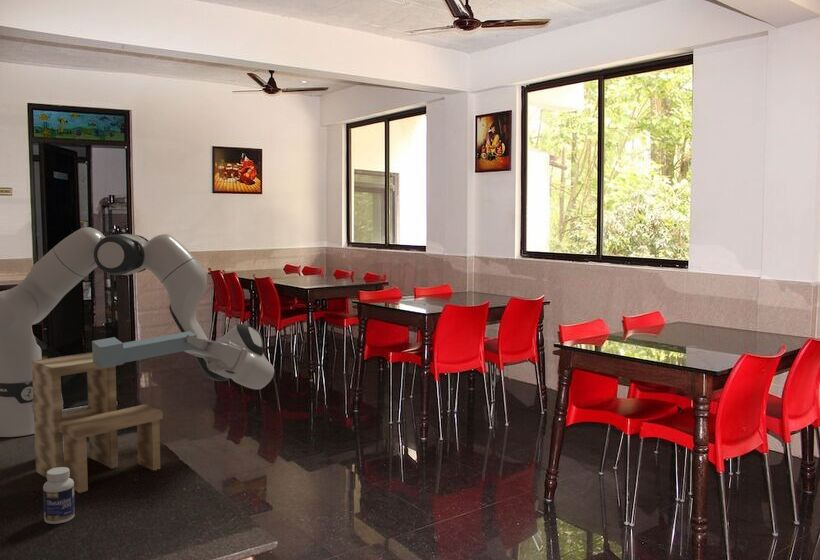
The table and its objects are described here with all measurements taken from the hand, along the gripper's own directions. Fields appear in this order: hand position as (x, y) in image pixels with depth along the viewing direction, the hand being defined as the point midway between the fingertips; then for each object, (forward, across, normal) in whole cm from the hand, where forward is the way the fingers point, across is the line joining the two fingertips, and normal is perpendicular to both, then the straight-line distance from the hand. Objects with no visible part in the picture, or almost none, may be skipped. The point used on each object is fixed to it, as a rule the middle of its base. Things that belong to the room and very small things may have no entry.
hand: (181, 336), depth 166 cm
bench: (0, 0, +35) cm, 35 cm away
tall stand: (+3, -11, +36) cm, 38 cm away
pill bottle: (+15, +13, +44) cm, 48 cm away
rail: (+5, -1, +7) cm, 9 cm away
